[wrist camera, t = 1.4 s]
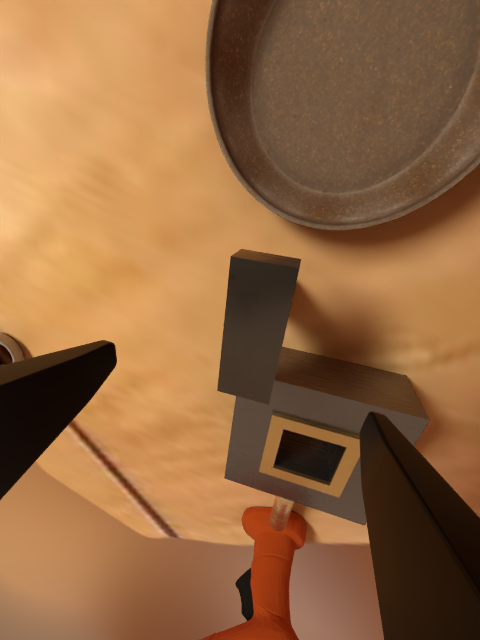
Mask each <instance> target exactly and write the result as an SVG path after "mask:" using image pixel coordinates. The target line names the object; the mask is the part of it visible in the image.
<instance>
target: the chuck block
mask: <svg viewBox="0 0 480 640" xmlns="http://www.w3.org/2000/svg"><path fill="white" fill-rule="evenodd" d="M371 411H374V412H378V413H381V414H384V415H386V416H387V417H388V419H389V420H390V421H391V422H392V423H393V424H394V425H395V426H396V427H397V428H398V429H399V431H400V432H401V433H402V434H403V435H404V436H405V437H406V438H407V439H408V440H409V441H410V443H411V444H412V445H413V446H414V445H415V443H416V442H417V440H418V438H419V437H420V435H421V434H422V432H423V430H424V429H425V427H426V426H427V424H428V422H429V421H430V419H429V418H428V416H427V414H426V412H425V410H424V408H423V406H422V404H421V402H420V401H419V399H418V397H417V395H416V393H415V391H414V389H413V387H412V385H411V384H410V382H409V380H408V378H407V376H405V375H401V374H397V373H392V372H388V371H384V370H379V369H375V368H371V367H367V366H362V365H358V364H354V363H349V362H345V361H341V360H337V359H332V358H328V357H324V356H319V355H315V354H311V353H307V352H302V351H298V350H294V349H289V348H285V347H282V348H281V352H280V357H279V361H278V366H277V370H276V375H275V379H274V384H273V388H272V393H271V397H270V402H269V405H267V404H264V403H260V402H256V401H253V400H249V399H246V398H242V397H238V396H236V401H235V408H234V415H233V422H232V429H231V436H230V443H229V450H228V457H227V464H226V471H225V479H228V480H231V481H234V482H237V483H240V484H243V485H246V486H249V487H252V488H255V489H258V490H261V491H264V492H267V493H270V494H273V495H276V498H275V501H274V505H273V508H272V511H271V515H270V518H269V523H270V525H271V527H272V528H273V529H274V530H275V531H278V532H280V531H283V530H284V529H285V527H286V524H287V521H288V519H289V516H290V513H291V510H292V508H293V505H294V502H296V503H299V504H302V505H305V506H308V507H311V508H314V509H317V510H320V511H323V512H326V513H329V514H332V515H335V516H338V517H341V518H344V519H347V520H350V521H353V522H356V523H359V524H362V525H365V524H366V522H367V521H366V514H365V508H364V501H363V494H362V486H361V465H360V438H359V436H360V430H361V427H362V425H363V423H364V421H365V419H366V417H367V415H368V413H369V412H371Z"/></svg>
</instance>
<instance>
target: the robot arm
mask: <svg viewBox="0 0 480 640" xmlns="http://www.w3.org/2000/svg"><path fill="white" fill-rule="evenodd" d="M116 363H117V357H116V349H115V345H114V343H112V342H109V341H105V340H101V341H97V342H93V343H89V344H85V345H81V346H77V347H73V348H69V349H65V350H61V351H57V352H53V353H49V354H45V355H41V356H37V357H33V358H29V359H25V360H22V361H18V362H14V363H10V364H6V365H2V366H0V500H1V499H2V497H3V496H4V495H5V494H6V493H7V492H8V491H9V490H10V489H11V488H12V486H13V485H14V484H15V483H16V482H17V481H18V480H19V479H20V478H21V477H22V475H23V474H24V473H25V472H26V471H27V470H28V469H29V468H30V467H31V465H32V464H33V463H34V462H35V461H36V460H37V459H38V458H39V457H40V456H41V454H42V453H43V452H44V451H45V450H46V449H47V448H48V447H49V446H50V444H51V443H52V442H53V441H54V440H55V439H56V438H57V437H58V436H59V434H60V433H61V432H62V431H63V430H64V429H65V428H66V427H67V426H68V424H69V423H70V422H71V421H72V420H73V419H74V418H75V417H76V416H77V415H78V413H79V412H80V411H81V410H82V409H83V408H84V407H85V406H86V404H87V403H88V402H89V401H90V400H91V399H92V397H93V396H94V395H95V393H96V392H97V391H98V389H99V388H100V387H101V385H102V384H103V383H104V381H105V380H106V379H107V377H108V376H109V375H110V373H111V372H112V371H113V369H114V368H115V366H116ZM359 438H360V465H361V486H362V494H363V501H364V508H365V514H366V521H367V528H368V534H369V541H370V547H371V554H372V560H373V568H374V574H375V581H376V588H377V594H378V600H379V607H380V614H381V620H382V628H383V634H384V640H480V518H479V517H478V516H477V514H476V513H475V512H474V511H473V510H472V509H471V508H470V507H469V506H468V505H467V504H466V502H465V501H464V500H463V499H462V498H461V497H460V496H459V495H458V494H457V493H456V492H455V490H454V489H453V488H452V487H451V486H450V485H449V484H448V483H447V482H446V481H445V480H444V478H443V477H442V476H441V475H440V474H439V473H438V472H437V471H436V470H435V469H434V468H433V466H432V465H431V464H430V463H429V462H428V461H427V460H426V459H425V458H424V457H423V456H422V455H421V453H420V452H419V451H418V450H417V449H416V448H415V447H414V446H413V445H412V444H411V443H410V441H409V440H408V439H407V438H406V437H405V436H404V435H403V434H402V433H401V432H400V431H399V429H398V428H397V427H396V426H395V425H394V424H393V423H392V422H391V421H390V420H389V419H388V417H387V416H386V415H384V414H381V413H378V412H374V411H371V412H369V413H368V415H367V417H366V419H365V421H364V423H363V425H362V427H361V430H360V436H359Z"/></svg>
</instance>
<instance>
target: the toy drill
mask: <svg viewBox="0 0 480 640" xmlns="http://www.w3.org/2000/svg"><path fill="white" fill-rule="evenodd" d="M271 511H272V508H271V507H250V508H248V509H246V510H245V512H244V514H243V517H242V525H243V528H244V530H245V532H246V533H247V534H248V535H249V536H250V537H251V538H252V539H254V540H255V544H254V556H253V557H254V558H253V561H252V566H251V568H250V569H249V570H247V571H246V572H245V573H244V574H243V575H242V576H241V577H240V578H239V579H238V580H237V581H236V587H237V588H238V589H239V593H240V596H241V602H242V614H243V616H244V617H245V618H246V620H247V622H245V623H242V624H240V625H237V626H235V627H232V628H230V629H227V630H225V631H222V632H218V633H214V634H212V635H210V636H208V637H205V638H203V639H202V640H299V639H298V637H297V635H296V633H295V632H294V630H293V628H292V625H291V621H290V611H289V580H290V572H291V566H292V561H293V556H294V551H295V550H296V549H299V548H301V547H302V546H303V544H304V541H305V535H306V523H305V521H304V519H303V518H302V517H301V516H299V515H298V514H296V513H294V512H292V511H291V513H290V516H289V519H288V521H287V524H286V527H285V529H284V530H283V531H280V532H278V531H275V530H274V529H273V528H272V527H271V525H270V523H269V518H270V515H271Z"/></svg>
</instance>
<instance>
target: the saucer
mask: <svg viewBox="0 0 480 640" xmlns="http://www.w3.org/2000/svg"><path fill="white" fill-rule="evenodd" d="M206 88H207V97H208V103H209V110H210V114H211V119H212V122H213V126H214V130H215V133H216V137H217V140H218V142H219V145H220V148H221V150H222V153H223V155H224V157H225V159H226V161H227V163H228V164H229V166H230V168H231V170H232V171H233V173H234V174H235V176H236V177H237V179H238V180H239V181H240V182H241V184H242V185H243V186H244V187H245V189H246V190H247V191H248V192H249V193H250V194H251V195H252V196H253V197H254V198H255V199H256V200H258V201H259V202H260V203H261V204H263V205H264V206H265V207H267V208H268V209H269V210H271V211H272V212H273V213H275V214H277V215H279V216H281V217H283V218H284V219H287V220H289V221H292V222H294V223H297V224H299V225H303V226H307V227H311V228H317V229H325V230H351V229H361V228H366V227H370V226H375V225H379V224H383V223H386V222H389V221H392V220H394V219H397V218H399V217H402V216H404V215H406V214H408V213H411V212H413V211H415V210H417V209H419V208H420V207H422V206H424V205H426V204H428V203H429V202H431V201H433V200H434V199H436V198H437V197H439V196H440V195H442V194H443V193H445V192H446V191H448V190H449V189H450V188H452V187H453V186H454V185H456V184H457V183H458V182H460V181H461V180H462V179H463V178H464V177H465V176H466V175H468V174H469V173H470V172H471V171H472V170H473V169H475V168H476V167H477V166H478V165H479V164H480V0H213V1H212V6H211V11H210V16H209V23H208V30H207V42H206Z"/></svg>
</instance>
